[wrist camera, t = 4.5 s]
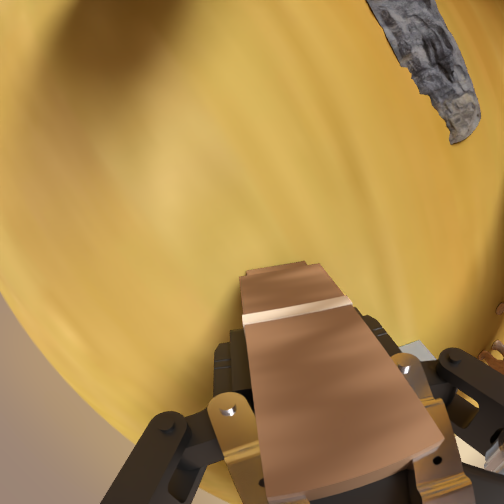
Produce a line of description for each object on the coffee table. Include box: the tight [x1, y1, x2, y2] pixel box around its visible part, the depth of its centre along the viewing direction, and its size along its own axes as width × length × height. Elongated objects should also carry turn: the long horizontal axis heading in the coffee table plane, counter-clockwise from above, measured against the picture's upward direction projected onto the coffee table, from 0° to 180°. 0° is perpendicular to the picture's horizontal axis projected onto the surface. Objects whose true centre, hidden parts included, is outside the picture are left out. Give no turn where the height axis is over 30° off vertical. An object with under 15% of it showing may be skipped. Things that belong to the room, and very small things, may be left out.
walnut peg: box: [239, 261, 445, 501], centre depth 10 cm, size 4×4×12 cm
